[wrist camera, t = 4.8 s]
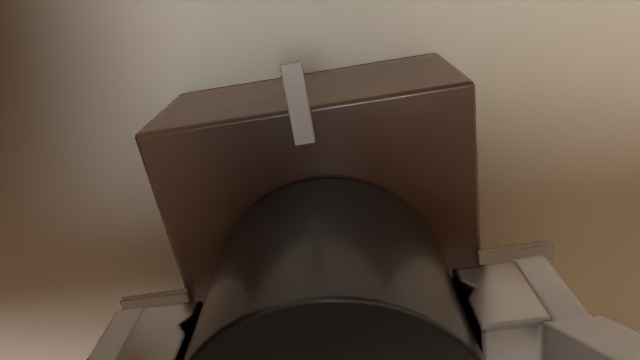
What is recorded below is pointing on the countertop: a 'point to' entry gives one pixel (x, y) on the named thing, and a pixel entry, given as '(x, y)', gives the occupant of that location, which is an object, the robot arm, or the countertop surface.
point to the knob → (332, 282)
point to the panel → (318, 156)
